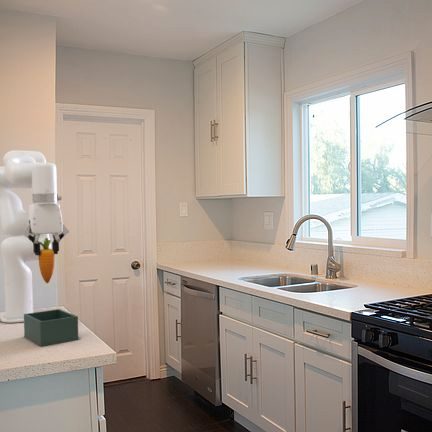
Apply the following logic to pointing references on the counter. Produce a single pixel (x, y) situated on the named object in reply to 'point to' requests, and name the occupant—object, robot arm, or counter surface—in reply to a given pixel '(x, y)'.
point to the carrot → (46, 260)
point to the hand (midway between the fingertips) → (46, 253)
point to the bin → (50, 327)
